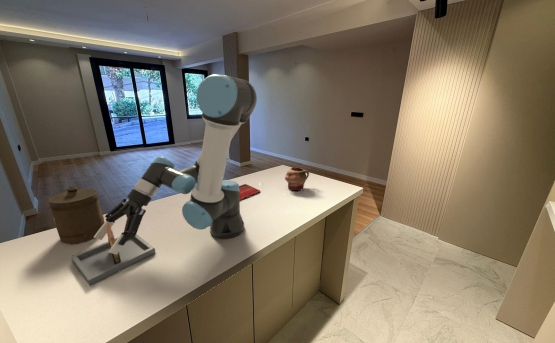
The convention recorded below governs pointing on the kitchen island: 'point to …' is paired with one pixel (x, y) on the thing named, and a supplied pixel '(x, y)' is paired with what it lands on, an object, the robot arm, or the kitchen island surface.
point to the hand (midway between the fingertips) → (104, 245)
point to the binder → (247, 191)
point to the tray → (110, 259)
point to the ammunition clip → (111, 241)
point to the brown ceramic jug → (296, 178)
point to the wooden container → (76, 214)
